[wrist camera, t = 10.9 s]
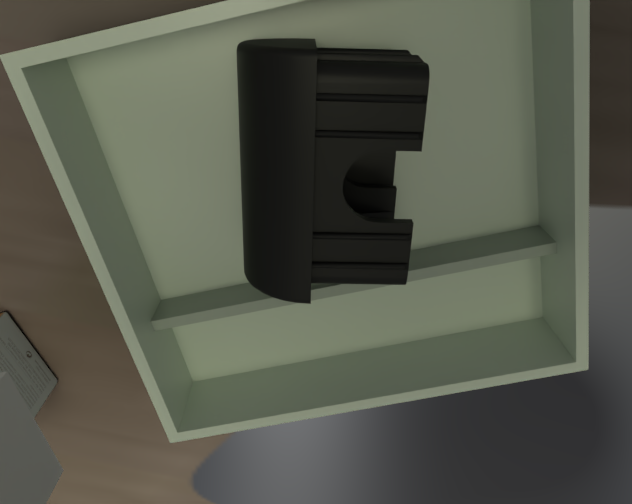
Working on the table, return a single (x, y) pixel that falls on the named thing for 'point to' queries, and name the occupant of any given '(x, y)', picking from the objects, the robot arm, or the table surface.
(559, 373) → the organizer tray
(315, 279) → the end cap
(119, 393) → the table surface
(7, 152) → the table surface
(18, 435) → the robot arm
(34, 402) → the small box
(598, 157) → the table surface
